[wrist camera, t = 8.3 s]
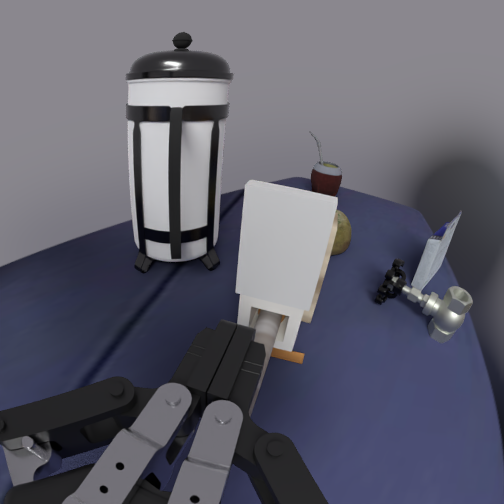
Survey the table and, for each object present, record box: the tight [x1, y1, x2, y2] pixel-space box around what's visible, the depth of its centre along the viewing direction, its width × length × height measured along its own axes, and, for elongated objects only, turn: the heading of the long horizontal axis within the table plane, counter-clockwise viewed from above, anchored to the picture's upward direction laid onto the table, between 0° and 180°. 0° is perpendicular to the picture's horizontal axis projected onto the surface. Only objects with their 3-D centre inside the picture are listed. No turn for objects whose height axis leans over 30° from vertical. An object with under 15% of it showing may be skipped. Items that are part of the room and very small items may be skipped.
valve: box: [375, 259, 473, 343], centre depth 33 cm, size 7×7×12 cm
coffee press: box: [126, 32, 233, 273], centre depth 34 cm, size 17×16×30 cm
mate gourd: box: [310, 132, 342, 197], centre depth 64 cm, size 8×8×15 cm
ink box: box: [411, 211, 461, 291], centre depth 41 cm, size 12×2×12 cm, turn 130°
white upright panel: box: [235, 180, 338, 352], centre depth 24 cm, size 4×6×14 cm, turn 74°
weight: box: [330, 209, 351, 256], centre depth 50 cm, size 14×13×5 cm
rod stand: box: [249, 212, 338, 416], centre depth 24 cm, size 23×8×12 cm, turn 164°
